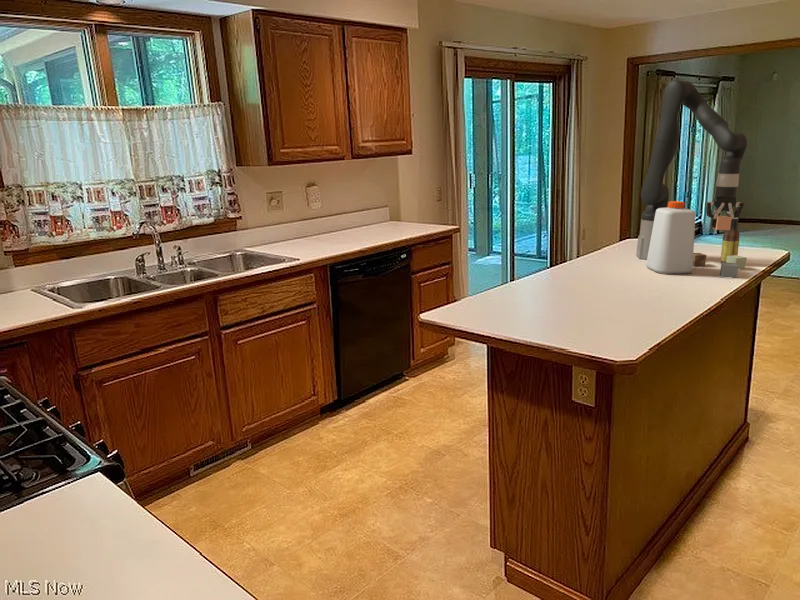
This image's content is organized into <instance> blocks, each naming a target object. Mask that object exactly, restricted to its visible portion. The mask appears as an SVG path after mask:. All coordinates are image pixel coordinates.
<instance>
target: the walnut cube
mask: <svg viewBox="0 0 800 600" xmlns="http://www.w3.org/2000/svg"><path fill="white" fill-rule="evenodd" d="M706 263H707V254H705V253H701V252H693V268H700V267H699V266H705V267H706Z"/></svg>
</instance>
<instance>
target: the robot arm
mask: <svg viewBox="0 0 800 600" xmlns="http://www.w3.org/2000/svg"><path fill="white" fill-rule="evenodd" d="M681 105H683V107H685V108H686V109H689V111H691V112H692V113H693V115H694V116H695V118H696V120H697V122H698V124H700V126H701V127H702V128H703V130H705V131H706V132H707V133H708V134H709V135H710V136H711V137H712V139H713V140H714V142H715V143H716V145H717V146H718V147H719V148H720V149H721V150H722V151H724V152H726V154H725V156H724V158H722V159H721V161H720V164H719V170H718V176H717V179H716V185H715V193H714V199H713V200H712V201H705V203H704V205H705V210H706V217H708V218H711V221H710V226H711V228H712V229H713V228H716V221H717V219H716V218H717V216H719V215H720V213H721V212H726V213H727V216H729V217H732V220H731V227H732V225H733V219H734V218H739V217H740V215H741V212H742V210H743V207H744V205H745V203H744V202H741V201H738V200H737V195H738V188H739V181H740V169H741V162H742V160H743V157H744V154H745V152H746V150H747V146H748V141H747V136H746V134H744V133H743V132H733V131H732V130H731V129H730V128H729V123H728V122H727V121H726V120H725V119H724V118H723V117H722V116H721V115H720V113H719V114H718V112H717V111H716V110H714V109H713V108H712V106H711V105H709V103H708V102H707V101H706V100H705V99H704V98H703V96H702V95H701V94H700V92H699V91H698V89H697V88H696V87H695V86H694V83H692V82H691V81H688V80H682V79H673V80H671V81H670V82H669V83H667V85H666V87H665V89H664V92H663V96H662V104H661V111H660V118H659V122H658V126H657V131H656V135H655V139H654V143H653V147H652V153H651V157H650V161H649V167H648V170H647V173H646V176H645V180H644V182H643V184H642V188H641V192H640V199H641V201H642V203H644V204H645V205H646V208H645V209H644V211H643V212H642V213H641V218H640V227H639V228H640V229H639V235H638V236H637V243H636V244H637V245H636V254H635V255H636V257H637V258H638V259H642V260H647V257H648V251H649V246H650V240H651V235H652V229H653V224H654V218H655V213H656V210H657V209H658V208H667V207H668V202H669V199H670V198H669V197H670V191H669V188H668V186H667V185H666V184H665V183H663V182H664V176H665V175H666V172H667V170H668V168H669V167H670V165H671V163H672V161H673V160H674V158H675V155H676V152H677V149H678V145H679V141H680V131H679V130H680V129H679V124H678V117H679V112H680V107H681ZM713 205H714V207H715V208H714V209H713V211H712V207H713ZM734 207H735V211H734V209H733V208H734ZM731 227H730V228H731Z"/></svg>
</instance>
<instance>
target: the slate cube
mask: <svg viewBox="0 0 800 600" xmlns="http://www.w3.org/2000/svg"><path fill="white" fill-rule="evenodd" d="M738 271H739V270H738V265H737V264H736V263H724V262H721V261H720V270H719V276H722V277H721V278H725V277H732V278H731V279H737V277H738Z"/></svg>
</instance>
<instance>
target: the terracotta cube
mask: <svg viewBox="0 0 800 600" xmlns="http://www.w3.org/2000/svg"><path fill="white" fill-rule="evenodd" d="M716 219H717V221H716V228H712V229H713V230H716V231H726V230H730V227H731V220H732V217H729V216H728V215H718V216H717V218H716Z"/></svg>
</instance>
